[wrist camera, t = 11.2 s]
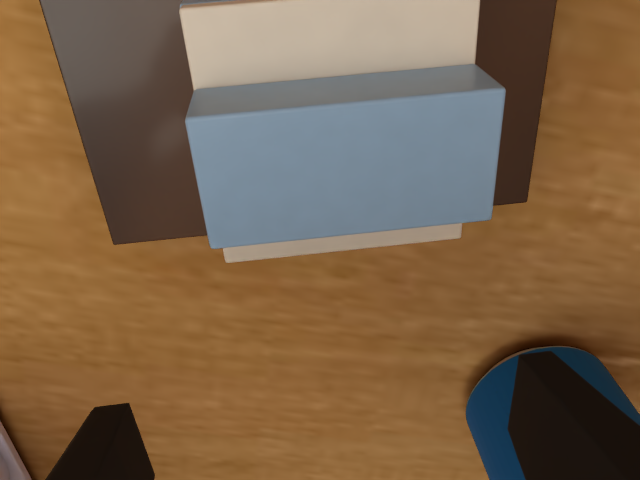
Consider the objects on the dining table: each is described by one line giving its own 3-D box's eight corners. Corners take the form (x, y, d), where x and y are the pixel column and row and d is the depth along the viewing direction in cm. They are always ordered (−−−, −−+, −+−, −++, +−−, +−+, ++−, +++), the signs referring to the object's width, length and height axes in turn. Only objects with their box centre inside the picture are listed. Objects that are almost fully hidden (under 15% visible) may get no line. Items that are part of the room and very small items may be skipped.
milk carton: (234, 145, 17) (220, 310, 11) (206, -38, 15) (163, 26, 8) (397, 129, 18) (487, 281, 11) (399, -53, 15) (520, -5, 8)
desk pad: (120, 227, 20) (113, 245, 19) (8, -158, 14) (-12, -162, 13) (513, 187, 20) (527, 202, 19) (564, -197, 15) (587, -204, 14)
